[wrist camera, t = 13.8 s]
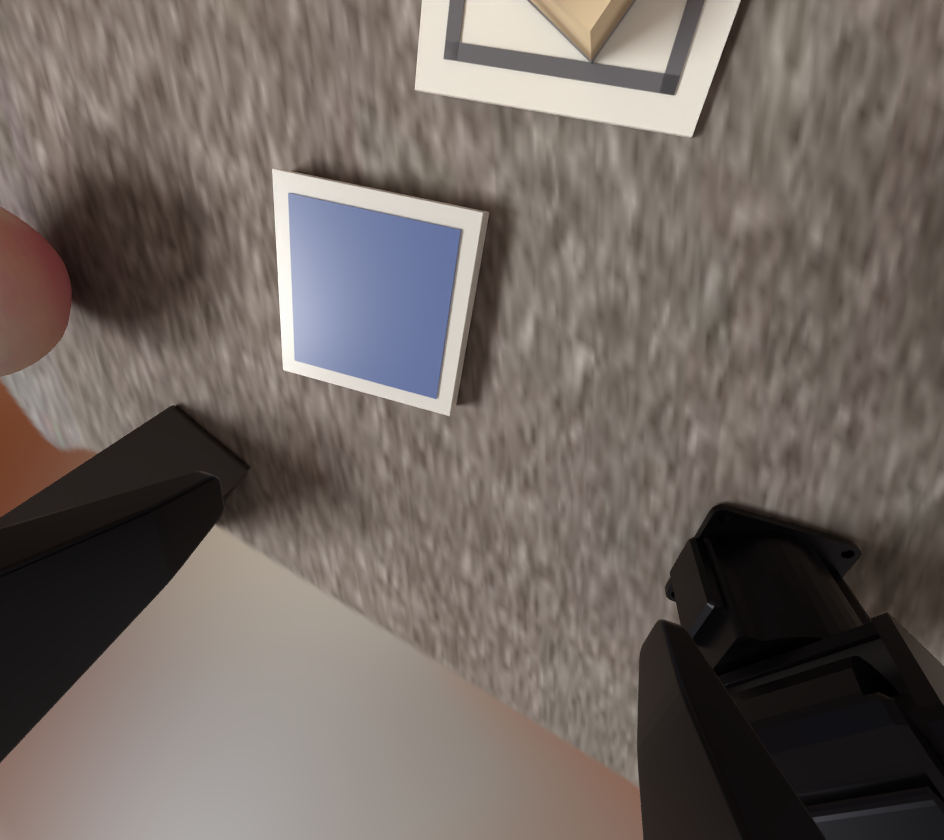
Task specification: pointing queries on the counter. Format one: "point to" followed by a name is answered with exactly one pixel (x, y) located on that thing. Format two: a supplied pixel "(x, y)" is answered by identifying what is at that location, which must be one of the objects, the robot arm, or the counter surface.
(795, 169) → the counter surface
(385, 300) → the ink pad
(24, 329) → the decorative fruit
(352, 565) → the counter surface
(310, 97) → the counter surface
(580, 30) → the stamp
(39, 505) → the phone stand
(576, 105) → the card
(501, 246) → the counter surface
